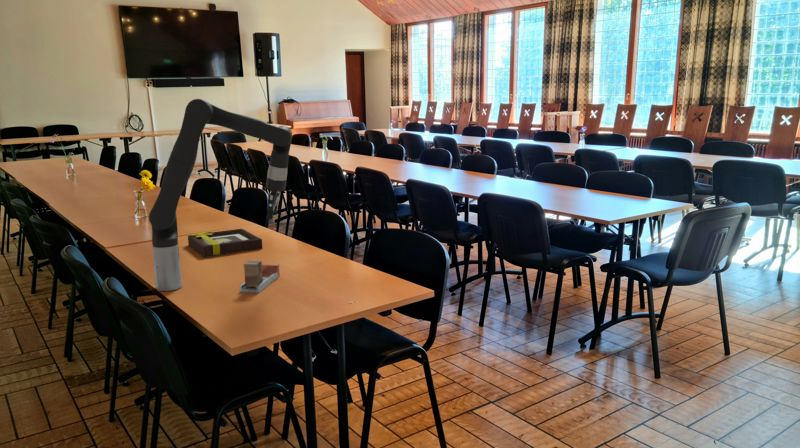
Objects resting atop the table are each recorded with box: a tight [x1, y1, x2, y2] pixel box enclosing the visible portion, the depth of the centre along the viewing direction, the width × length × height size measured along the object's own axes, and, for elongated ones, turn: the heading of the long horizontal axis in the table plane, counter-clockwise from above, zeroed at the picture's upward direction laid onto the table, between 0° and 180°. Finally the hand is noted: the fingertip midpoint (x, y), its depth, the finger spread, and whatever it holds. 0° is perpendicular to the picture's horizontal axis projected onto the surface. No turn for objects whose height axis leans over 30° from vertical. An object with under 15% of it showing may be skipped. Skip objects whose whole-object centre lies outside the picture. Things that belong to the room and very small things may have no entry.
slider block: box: [243, 259, 263, 287], centre depth 233 cm, size 5×5×9 cm
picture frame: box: [187, 228, 263, 258], centre depth 298 cm, size 28×7×30 cm
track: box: [239, 263, 281, 294], centre depth 239 cm, size 22×8×5 cm, turn 170°
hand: (271, 215), depth 242 cm, fingers open, 8 cm apart
